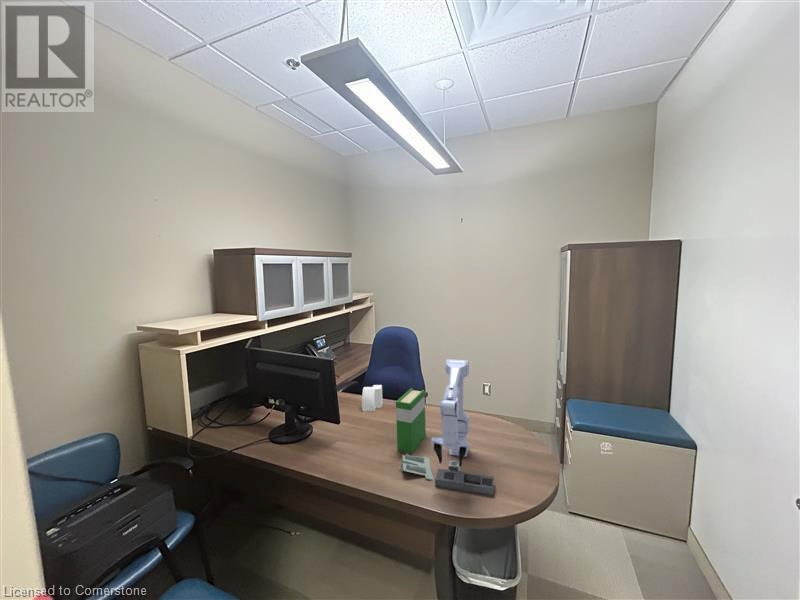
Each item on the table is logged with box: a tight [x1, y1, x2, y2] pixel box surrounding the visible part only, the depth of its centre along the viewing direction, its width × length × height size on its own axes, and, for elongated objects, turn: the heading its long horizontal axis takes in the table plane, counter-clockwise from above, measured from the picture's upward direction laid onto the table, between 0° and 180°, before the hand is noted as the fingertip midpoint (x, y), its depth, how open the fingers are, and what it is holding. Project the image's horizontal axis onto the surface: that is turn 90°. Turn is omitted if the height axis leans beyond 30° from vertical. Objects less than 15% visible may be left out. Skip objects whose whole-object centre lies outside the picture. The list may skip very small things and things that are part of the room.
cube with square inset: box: [448, 459, 461, 472], centre depth 138 cm, size 4×4×4 cm
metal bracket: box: [398, 453, 434, 481], centre depth 141 cm, size 14×6×15 cm
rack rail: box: [434, 468, 495, 497], centre depth 130 cm, size 7×22×3 cm, turn 73°
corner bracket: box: [361, 384, 384, 412], centre depth 202 cm, size 11×11×12 cm
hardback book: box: [395, 387, 427, 455], centre depth 160 cm, size 18×7×24 cm, turn 155°
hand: (450, 463), depth 128 cm, fingers open, 7 cm apart
